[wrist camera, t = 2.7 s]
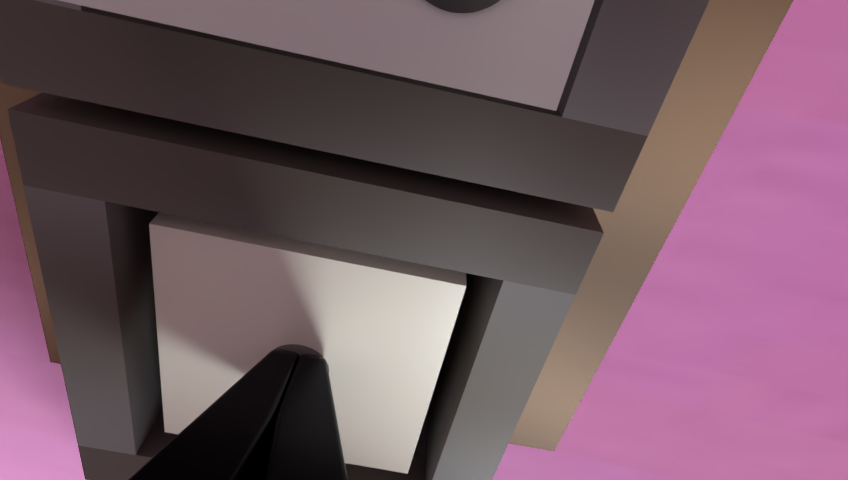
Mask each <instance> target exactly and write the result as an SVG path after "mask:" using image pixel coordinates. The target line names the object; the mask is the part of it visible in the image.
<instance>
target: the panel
mask: <svg viewBox="0 0 848 480" xmlns="http://www.w3.org/2000/svg"><path fill="white" fill-rule="evenodd" d="M792 2H793V0H595V1H594V4H593V7H592V10H591V12H590V15H589V18H588V21H587V24H586V27H585V30H584V32H583V35H582V38H581V41H580V44H579V47H578V50H577V53H576V55H575V58H574V61H573V64H572V67H571V70H570V73H569V75H568V78H567V81H566V84H565V87H564V90H563V93H562V96H561V98H560V101H559V104H558V107H557V110H556V111H554V110H550V109H545V108H541V107H536V106H532V105H527V104H523V103H518V102H514V101H509V100H505V99H500V98H496V97H491V96H487V95H482V94H478V93H473V92H469V91H464V90H460V89H455V88H451V87H446V86H442V85H437V84H433V83H428V82H424V81H419V80H415V79H410V78H406V77H401V76H397V75H392V74H388V73H383V72H379V71H374V70H370V69H365V68H361V67H356V66H352V65H347V64H343V63H338V62H334V61H329V60H325V59H320V58H316V57H311V56H307V55H302V54H298V53H293V52H289V51H284V50H280V49H275V48H271V47H266V46H262V45H257V44H253V43H248V42H244V41H239V40H235V39H230V38H226V37H221V36H217V35H212V34H208V33H203V32H199V31H194V30H190V29H185V28H181V27H176V26H172V25H167V24H162V23H158V22H153V21H149V20H144V19H140V18H135V17H131V16H126V15H122V14H117V13H113V12H108V11H104V10H99V9H95V8H90V7H86V6H81V5H77V4H72V3H68V2H63V1H59V0H0V138H1V143H2V147H3V152H4V156H5V161H6V165H7V170H8V174H9V179H10V183H11V188H12V192H13V196H14V201H15V205H16V210H17V214H18V219H19V223H20V228H21V232H22V237H23V241H24V246H25V250H26V254H27V259H28V263H29V268H30V272H31V277H32V281H33V286H34V290H35V295H36V299H37V303H38V308H39V312H40V317H41V321H42V326H43V330H44V335H45V339H46V344H47V348H48V353H49V357H50V361H51V362H54V363H59V364H61V366H62V371H63V376H64V381H65V385H66V390H67V395H68V400H69V404H70V409H71V414H72V419H73V423H74V428H75V433H76V438H77V442H78V447H79V452H80V457H81V461H82V466H83V471H84V476H85V479H87V480H128V479H129V478H130V477H131V476H133V475H134V474H135V473H136V472H137V471H138V470H139V469H140V468H141V467H143V466H144V465H145V464H146V463H147V462H148V461H149V460H150V459H151V458H153V457H154V456H155V455H156V454H157V453H158V452H159V451H160V450H161V449H163V448H164V447H165V446H166V445H167V444H168V443H169V442H170V441H171V440H173V439H174V438H175V437H176V436H177V435H178V434H173V433H167V432H165V431H164V418H163V404H162V391H161V378H160V364H159V351H158V338H157V324H156V311H155V298H154V285H153V271H152V258H151V245H150V231H149V223H150V222H151V221H152V220H153V219H154V218H155V217H156V216H157V215H158V213H159V212H161V213H166V214H171V215H176V216H181V217H186V218H191V219H196V220H201V221H206V222H211V223H216V224H221V225H226V226H231V227H236V228H241V229H246V230H251V231H256V232H262V233H267V234H272V235H277V236H282V237H287V238H292V239H297V240H302V241H307V242H312V243H317V244H322V245H327V246H332V247H337V248H342V249H347V250H352V251H357V252H362V253H367V254H372V255H377V256H382V257H387V258H393V259H398V260H403V261H408V262H413V263H418V264H423V265H428V266H433V267H438V268H443V269H448V270H453V271H458V272H463V273H466V289H465V293H464V296H463V299H462V302H461V305H460V308H459V312H458V315H457V318H456V321H455V324H454V328H453V331H452V334H451V337H450V340H449V344H448V347H447V350H446V353H445V356H444V360H443V363H442V366H441V369H440V372H439V375H438V379H437V382H436V385H435V388H434V391H433V395H432V398H431V401H430V404H429V407H428V411H427V414H426V417H425V420H424V423H423V427H422V430H421V433H420V436H419V439H418V442H417V446H416V449H415V452H414V455H413V458H412V462H411V465H410V468H409V471H408V474H406V473H401V472H395V471H389V470H383V469H377V468H371V467H366V466H360V465H354V464H348V463H345V467H346V472H347V478H348V480H492V478H493V476H494V474H495V472H496V469H497V467H498V465H499V463H500V461H501V458H502V456H503V454H504V452H505V450H506V447H507V445H508V443H510V444H516V445H521V446H527V447H532V448H538V449H544V450H549V451H554V450H555V448H556V446H557V444H558V442H559V441H560V439H561V437H562V435H563V433H564V431H565V429H566V427H567V426H568V424H569V422H570V420H571V418H572V416H573V414H574V412H575V410H576V409H577V407H578V405H579V403H580V401H581V399H582V397H583V395H584V394H585V392H586V390H587V388H588V386H589V384H590V382H591V380H592V378H593V377H594V375H595V373H596V371H597V369H598V367H599V365H600V363H601V361H602V360H603V358H604V356H605V354H606V352H607V350H608V348H609V346H610V345H611V343H612V341H613V339H614V337H615V335H616V333H617V331H618V329H619V328H620V326H621V324H622V322H623V320H624V318H625V316H626V314H627V313H628V311H629V309H630V307H631V305H632V303H633V301H634V299H635V297H636V296H637V294H638V292H639V290H640V288H641V286H642V284H643V282H644V280H645V279H646V277H647V275H648V273H649V271H650V269H651V267H652V265H653V264H654V262H655V260H656V258H657V256H658V254H659V252H660V250H661V248H662V247H663V245H664V243H665V241H666V239H667V237H668V235H669V233H670V232H671V230H672V228H673V226H674V224H675V222H676V220H677V218H678V216H679V215H680V213H681V211H682V209H683V207H684V205H685V203H686V201H687V199H688V198H689V196H690V194H691V192H692V190H693V188H694V186H695V184H696V183H697V181H698V179H699V177H700V175H701V173H702V171H703V169H704V167H705V166H706V164H707V162H708V160H709V158H710V156H711V154H712V152H713V151H714V149H715V147H716V145H717V143H718V141H719V139H720V137H721V135H722V134H723V132H724V130H725V128H726V126H727V124H728V122H729V120H730V118H731V117H732V115H733V113H734V111H735V109H736V107H737V105H738V103H739V102H740V100H741V98H742V96H743V94H744V92H745V90H746V88H747V86H748V85H749V83H750V81H751V79H752V77H753V75H754V73H755V71H756V70H757V68H758V66H759V64H760V62H761V60H762V58H763V56H764V54H765V53H766V51H767V49H768V47H769V45H770V43H771V41H772V39H773V37H774V36H775V34H776V32H777V30H778V28H779V26H780V24H781V22H782V21H783V19H784V17H785V15H786V13H787V11H788V9H789V7H790V5H791V4H792Z"/></svg>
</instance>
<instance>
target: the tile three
mask: <svg viewBox="0 0 848 480" xmlns="http://www.w3.org/2000/svg"><path fill="white" fill-rule="evenodd" d="M59 1H63V2H68V3H72V4H77V5H81V6H86V7H90V8H95V9H99V10H104V11H108V12H113V13H117V14H122V15H126V16H131V17H135V18H140V19H144V20H149V21H153V22H158V23H162V24H167V25H172V26H176V27H181V28H185V29H190V30H194V31H199V32H203V33H208V34H212V35H217V36H221V37H226V38H230V39H235V40H239V41H244V42H248V43H253V44H257V45H262V46H266V47H271V48H275V49H280V50H284V51H289V52H293V53H298V54H302V55H307V56H311V57H316V58H320V59H325V60H329V61H334V62H338V63H343V64H347V65H352V66H356V67H361V68H365V69H370V70H374V71H379V72H383V73H388V74H392V75H397V76H401V77H406V78H410V79H415V80H419V81H424V82H428V83H433V84H437V85H442V86H446V87H451V88H455V89H460V90H464V91H469V92H473V93H478V94H482V95H487V96H491V97H496V98H500V99H505V100H509V101H514V102H518V103H523V104H527V105H532V106H536V107H541V108H545V109H550V110H554V111H556V110H557V107H558V104H559V101H560V98H561V96H562V93H563V90H564V87H565V84H566V81H567V78H568V75H569V73H570V70H571V67H572V64H573V61H574V58H575V55H576V53H577V50H578V47H579V44H580V41H581V38H582V35H583V32H584V30H585V27H586V24H587V21H588V18H589V15H590V12H591V10H592V7H593V4H594V1H595V0H59Z"/></svg>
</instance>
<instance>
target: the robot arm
mask: <svg viewBox="0 0 848 480" xmlns="http://www.w3.org/2000/svg"><path fill="white" fill-rule="evenodd" d="M128 480H348V478H347V472H346V467H345V461H344V455H343V450H342V444H341V439H340V433H339V427H338V422H337V416H336V411H335V405H334V399H333V394H332V388H331V383H330V377H329V371H328V366H327V361H326V359H325V358H323V357H318V356H313V355H307V354H302V355H301V356H300V357H299V355H298V354H297V353H296V352H291V351H286V350H280V349H274V350H272V351H271V352H269V353H268V354H267V355H266V356H265V357H264V358H263V359H262V360H260V361H259V362H258V363H257V364H256V365H255V366H254V367H253V368H252V369H250V370H249V371H248V372H247V373H246V374H245V375H244V376H243V377H242V378H240V379H239V380H238V381H237V382H236V383H235V384H234V385H233V386H232V387H230V388H229V389H228V390H227V391H226V392H225V393H224V394H223V395H222V396H220V397H219V398H218V399H217V400H216V401H215V402H214V403H213V404H212V405H210V406H209V407H208V408H207V409H206V410H205V411H204V412H203V413H202V414H200V415H199V416H198V417H197V418H196V419H195V420H194V421H193V422H191V423H190V424H189V425H188V426H187V427H186V428H185V429H184V430H183V431H181V432H180V433H179V434H178V435H177V436H176V437H175V438H174V439H173V440H171V441H170V442H169V443H168V444H167V445H166V446H165V447H164V448H163V449H161V450H160V451H159V452H158V453H157V454H156V455H155V456H154V457H153V458H151V459H150V460H149V461H148V462H147V463H146V464H145V465H144V466H143V467H141V468H140V469H139V470H138V471H137V472H136V473H135V474H134V475H133V476H131V477H130V478H129V479H128Z"/></svg>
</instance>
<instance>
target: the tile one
mask: <svg viewBox="0 0 848 480" xmlns="http://www.w3.org/2000/svg"><path fill="white" fill-rule="evenodd" d="M149 231H150V245H151V258H152V271H153V285H154V298H155V311H156V324H157V338H158V351H159V364H160V378H161V391H162V404H163V418H164V431H165V432H167V433H173V434H179V433H180V432H181V431H183V430H184V429H185V428H186V427H187V426H188V425H189V424H190V423H191V422H193V421H194V420H195V419H196V418H197V417H198V416H199V415H200V414H202V413H203V412H204V411H205V410H206V409H207V408H208V407H209V406H210V405H212V404H213V403H214V402H215V401H216V400H217V399H218V398H219V397H220V396H222V395H223V394H224V393H225V392H226V391H227V390H228V389H229V388H230V387H232V386H233V385H234V384H235V383H236V382H237V381H238V380H239V379H240V378H242V377H243V376H244V375H245V374H246V373H247V372H248V371H249V370H250V369H252V368H253V367H254V366H255V365H256V364H257V363H258V362H259V361H260V360H262V359H263V358H264V357H265V356H266V355H267V354H268V353H269V352H271V351H272V350H274V349H280V350H286V351H291V352H296V353H297V354H298V355H299V357H300V356H301V355H302V354H307V355H313V356H318V357H323V358H325V359H326V361H327V366H328V371H329V377H330V383H331V388H332V394H333V399H334V405H335V411H336V416H337V422H338V427H339V433H340V439H341V444H342V450H343V455H344V461H345V463H348V464H354V465H360V466H366V467H371V468H377V469H383V470H389V471H395V472H401V473H406V474H408V471H409V468H410V465H411V462H412V458H413V455H414V452H415V449H416V446H417V442H418V439H419V436H420V433H421V430H422V427H423V423H424V420H425V417H426V414H427V411H428V407H429V404H430V401H431V398H432V395H433V391H434V388H435V385H436V382H437V379H438V375H439V372H440V369H441V366H442V363H443V360H444V356H445V353H446V350H447V347H448V344H449V340H450V337H451V334H452V331H453V328H454V324H455V321H456V318H457V315H458V312H459V308H460V305H461V302H462V299H463V296H464V293H465V289H466V273H463V272H458V271H453V270H448V269H443V268H438V267H433V266H428V265H423V264H418V263H413V262H408V261H403V260H398V259H393V258H387V257H382V256H377V255H372V254H367V253H362V252H357V251H352V250H347V249H342V248H337V247H332V246H327V245H322V244H317V243H312V242H307V241H302V240H297V239H292V238H287V237H282V236H277V235H272V234H267V233H262V232H256V231H251V230H246V229H241V228H236V227H231V226H226V225H221V224H216V223H211V222H206V221H201V220H196V219H191V218H186V217H181V216H176V215H171V214H166V213H161V212H159V213H158V215H157V216H156V217H155V218H154V219H153V220H152V221H151V222H150V223H149Z"/></svg>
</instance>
